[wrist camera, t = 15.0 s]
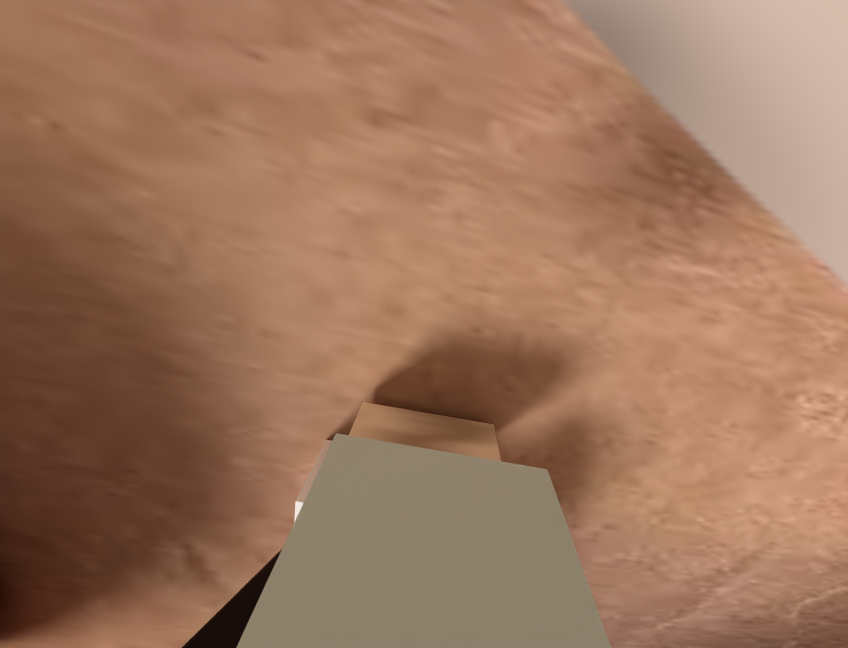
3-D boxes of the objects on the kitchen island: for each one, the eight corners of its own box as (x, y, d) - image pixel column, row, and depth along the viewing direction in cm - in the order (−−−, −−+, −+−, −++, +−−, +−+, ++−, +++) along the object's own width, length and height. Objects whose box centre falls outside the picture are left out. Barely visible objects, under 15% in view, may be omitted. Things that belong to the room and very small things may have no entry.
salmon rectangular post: (493, 424, 20) (527, 598, 11) (455, 575, 23) (459, 795, 15) (362, 401, 20) (298, 558, 11) (343, 556, 23) (283, 764, 15)
